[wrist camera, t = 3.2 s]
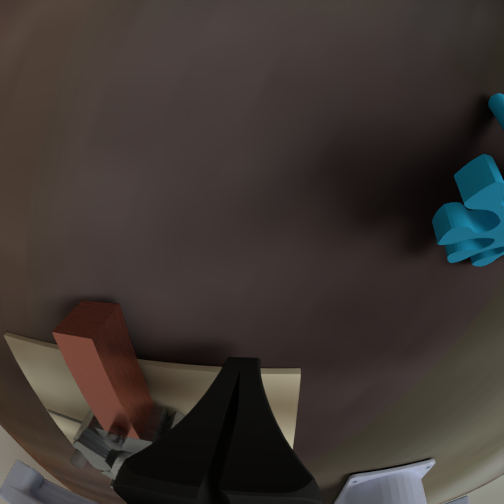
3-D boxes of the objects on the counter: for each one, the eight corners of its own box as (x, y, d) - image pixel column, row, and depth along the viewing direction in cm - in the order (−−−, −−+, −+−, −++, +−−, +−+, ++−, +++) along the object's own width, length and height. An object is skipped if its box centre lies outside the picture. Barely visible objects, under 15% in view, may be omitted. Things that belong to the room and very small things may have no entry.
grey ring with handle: (239, 483, 18) (234, 521, 15) (120, 463, 19) (107, 494, 16) (209, 308, 12) (187, 371, 9) (27, 294, 13) (-13, 330, 9)
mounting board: (286, 488, 20) (285, 520, 17) (84, 454, 22) (73, 478, 18) (300, 368, 14) (303, 423, 11) (6, 331, 16) (-20, 358, 12)
